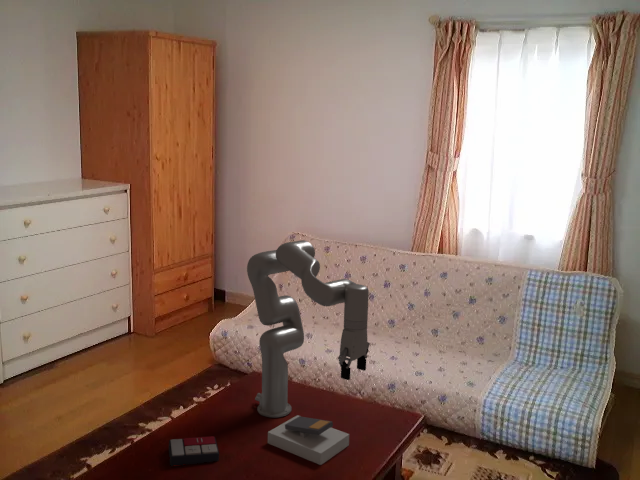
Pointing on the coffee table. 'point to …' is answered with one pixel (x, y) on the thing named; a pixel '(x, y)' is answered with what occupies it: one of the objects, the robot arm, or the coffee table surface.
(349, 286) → the robot arm
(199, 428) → the coffee table surface
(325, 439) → the switch box
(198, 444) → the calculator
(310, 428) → the rocker switch
